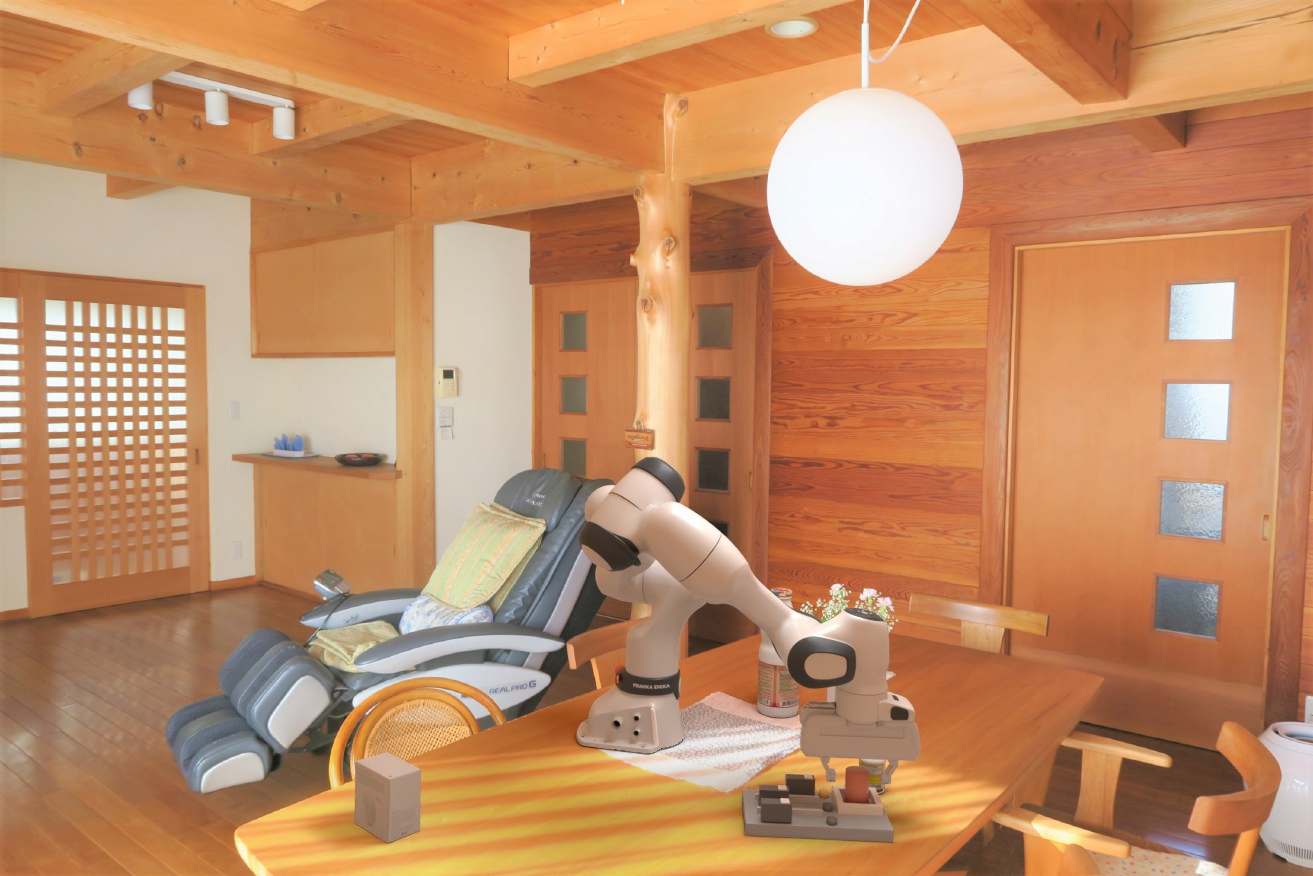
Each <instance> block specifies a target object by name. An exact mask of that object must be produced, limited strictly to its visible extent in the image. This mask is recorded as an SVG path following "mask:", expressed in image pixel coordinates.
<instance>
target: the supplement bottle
mask: <svg viewBox="0 0 1313 876" xmlns="http://www.w3.org/2000/svg"><path fill="white" fill-rule="evenodd" d="M886 761H887V760H879V759H858V766H860V767H864V768H866V769H868V770H869V787H872V788H875V789H876V791H877V793H878V795H881V794H883V793H884V792H885V787H886V784H882V782H881V779H880V778H881V770H883V771H886Z"/></svg>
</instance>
